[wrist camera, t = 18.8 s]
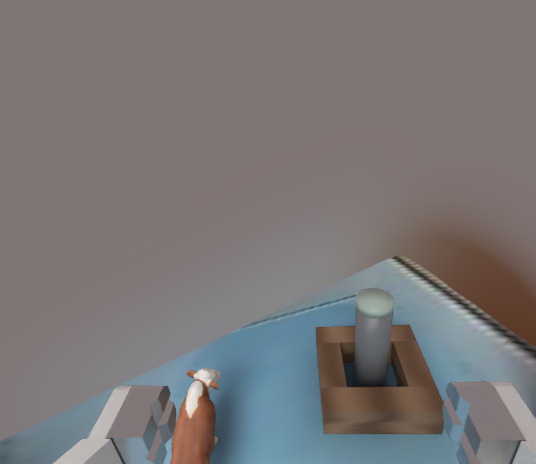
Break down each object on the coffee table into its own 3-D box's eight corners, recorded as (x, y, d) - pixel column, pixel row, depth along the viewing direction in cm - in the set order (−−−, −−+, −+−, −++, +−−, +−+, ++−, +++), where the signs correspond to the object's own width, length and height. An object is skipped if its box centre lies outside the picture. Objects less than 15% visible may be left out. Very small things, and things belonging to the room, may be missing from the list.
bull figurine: (232, 401, 44) (222, 355, 40) (211, 529, 32) (195, 482, 28) (199, 401, 44) (186, 356, 41) (167, 528, 32) (145, 481, 29)
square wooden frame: (323, 433, 39) (323, 411, 37) (316, 347, 51) (315, 327, 49) (441, 434, 38) (446, 410, 36) (406, 345, 49) (409, 324, 48)
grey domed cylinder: (356, 398, 43) (359, 311, 36) (351, 372, 46) (353, 288, 40) (389, 398, 42) (398, 310, 36) (381, 371, 46) (388, 287, 39)
